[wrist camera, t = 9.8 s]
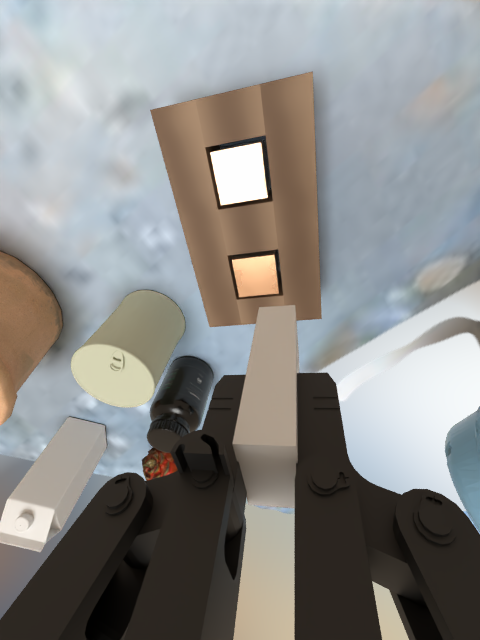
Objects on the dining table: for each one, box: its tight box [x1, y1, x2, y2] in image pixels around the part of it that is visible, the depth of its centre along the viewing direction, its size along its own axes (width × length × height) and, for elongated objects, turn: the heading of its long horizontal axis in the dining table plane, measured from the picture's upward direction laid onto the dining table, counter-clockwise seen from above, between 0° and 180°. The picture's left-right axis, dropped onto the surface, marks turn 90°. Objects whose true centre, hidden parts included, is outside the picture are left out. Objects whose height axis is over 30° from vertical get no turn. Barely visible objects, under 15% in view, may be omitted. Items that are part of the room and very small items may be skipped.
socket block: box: [150, 72, 322, 327], centre depth 29 cm, size 12×20×6 cm, turn 10°
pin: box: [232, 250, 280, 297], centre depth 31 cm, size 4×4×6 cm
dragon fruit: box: [142, 448, 178, 480], centre depth 55 cm, size 8×8×12 cm
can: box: [71, 290, 185, 407], centre depth 36 cm, size 9×9×12 cm
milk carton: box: [0, 417, 107, 552], centre depth 50 cm, size 7×7×19 cm
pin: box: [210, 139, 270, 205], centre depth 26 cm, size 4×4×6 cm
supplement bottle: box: [147, 357, 213, 453], centre depth 41 cm, size 7×7×12 cm
